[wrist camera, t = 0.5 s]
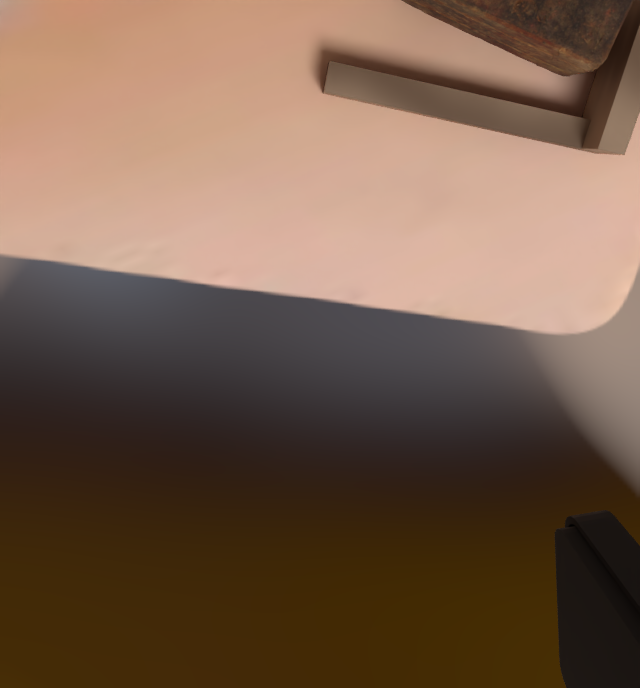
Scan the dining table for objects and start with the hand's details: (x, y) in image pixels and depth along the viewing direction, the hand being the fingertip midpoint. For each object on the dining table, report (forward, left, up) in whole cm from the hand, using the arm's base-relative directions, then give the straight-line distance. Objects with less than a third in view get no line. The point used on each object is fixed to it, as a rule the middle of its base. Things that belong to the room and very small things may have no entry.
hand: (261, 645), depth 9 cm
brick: (-16, +8, -28) cm, 33 cm away
